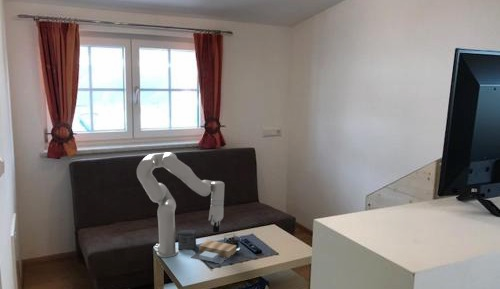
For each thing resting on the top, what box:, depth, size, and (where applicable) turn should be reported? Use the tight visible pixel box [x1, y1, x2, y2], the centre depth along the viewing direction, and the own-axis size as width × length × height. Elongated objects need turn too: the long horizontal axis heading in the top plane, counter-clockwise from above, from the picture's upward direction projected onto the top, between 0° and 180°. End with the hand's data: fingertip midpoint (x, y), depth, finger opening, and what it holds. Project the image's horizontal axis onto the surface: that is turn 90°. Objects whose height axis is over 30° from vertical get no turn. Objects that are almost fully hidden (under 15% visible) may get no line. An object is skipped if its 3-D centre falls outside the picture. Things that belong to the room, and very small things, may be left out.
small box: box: [177, 229, 197, 251], centre depth 240 cm, size 11×6×10 cm, turn 92°
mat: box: [190, 250, 229, 265], centre depth 227 cm, size 20×9×1 cm, turn 65°
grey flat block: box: [199, 251, 218, 262], centre depth 225 cm, size 9×6×2 cm, turn 65°
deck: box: [198, 239, 237, 259], centre depth 235 cm, size 20×10×4 cm, turn 65°
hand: (215, 231), depth 234 cm, fingers closed
